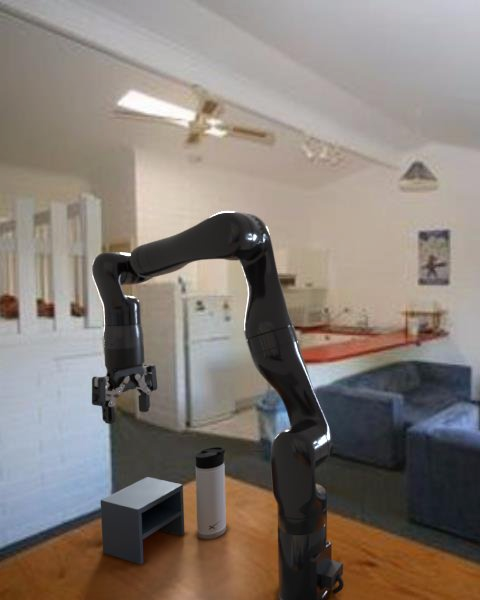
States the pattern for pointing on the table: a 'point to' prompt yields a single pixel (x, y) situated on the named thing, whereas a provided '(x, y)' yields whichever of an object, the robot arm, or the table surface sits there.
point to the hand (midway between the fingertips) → (127, 417)
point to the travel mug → (210, 493)
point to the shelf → (140, 516)
